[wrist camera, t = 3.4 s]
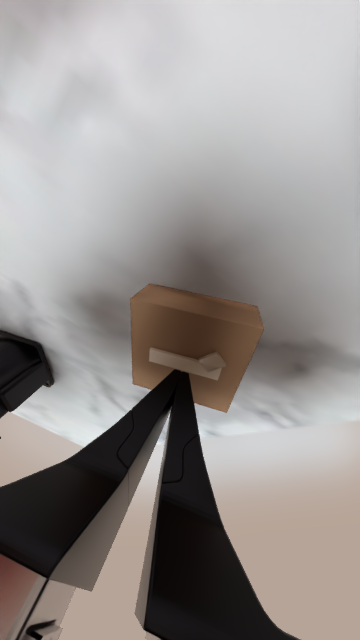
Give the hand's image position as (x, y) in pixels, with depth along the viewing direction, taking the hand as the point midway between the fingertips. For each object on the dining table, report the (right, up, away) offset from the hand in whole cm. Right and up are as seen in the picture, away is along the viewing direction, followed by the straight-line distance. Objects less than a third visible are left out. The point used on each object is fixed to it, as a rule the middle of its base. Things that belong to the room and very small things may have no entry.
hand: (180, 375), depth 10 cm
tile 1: (+1, +2, +4) cm, 4 cm away
